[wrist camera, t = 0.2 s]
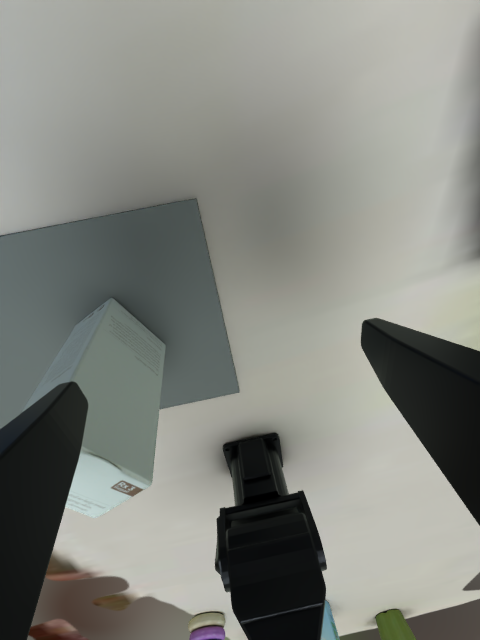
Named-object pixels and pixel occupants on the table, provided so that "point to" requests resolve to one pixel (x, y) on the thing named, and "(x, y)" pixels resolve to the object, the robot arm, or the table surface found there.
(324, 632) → the gum box
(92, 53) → the table surface
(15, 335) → the mat
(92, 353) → the skincare box
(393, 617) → the plant pot
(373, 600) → the table surface
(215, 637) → the stacking toy
